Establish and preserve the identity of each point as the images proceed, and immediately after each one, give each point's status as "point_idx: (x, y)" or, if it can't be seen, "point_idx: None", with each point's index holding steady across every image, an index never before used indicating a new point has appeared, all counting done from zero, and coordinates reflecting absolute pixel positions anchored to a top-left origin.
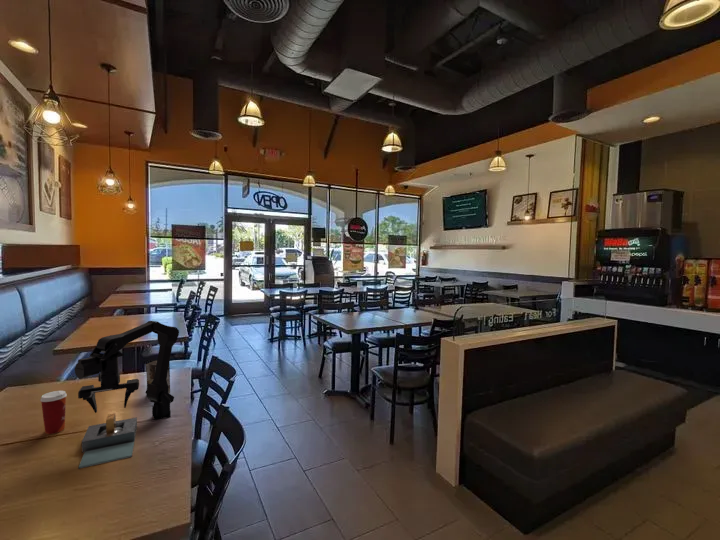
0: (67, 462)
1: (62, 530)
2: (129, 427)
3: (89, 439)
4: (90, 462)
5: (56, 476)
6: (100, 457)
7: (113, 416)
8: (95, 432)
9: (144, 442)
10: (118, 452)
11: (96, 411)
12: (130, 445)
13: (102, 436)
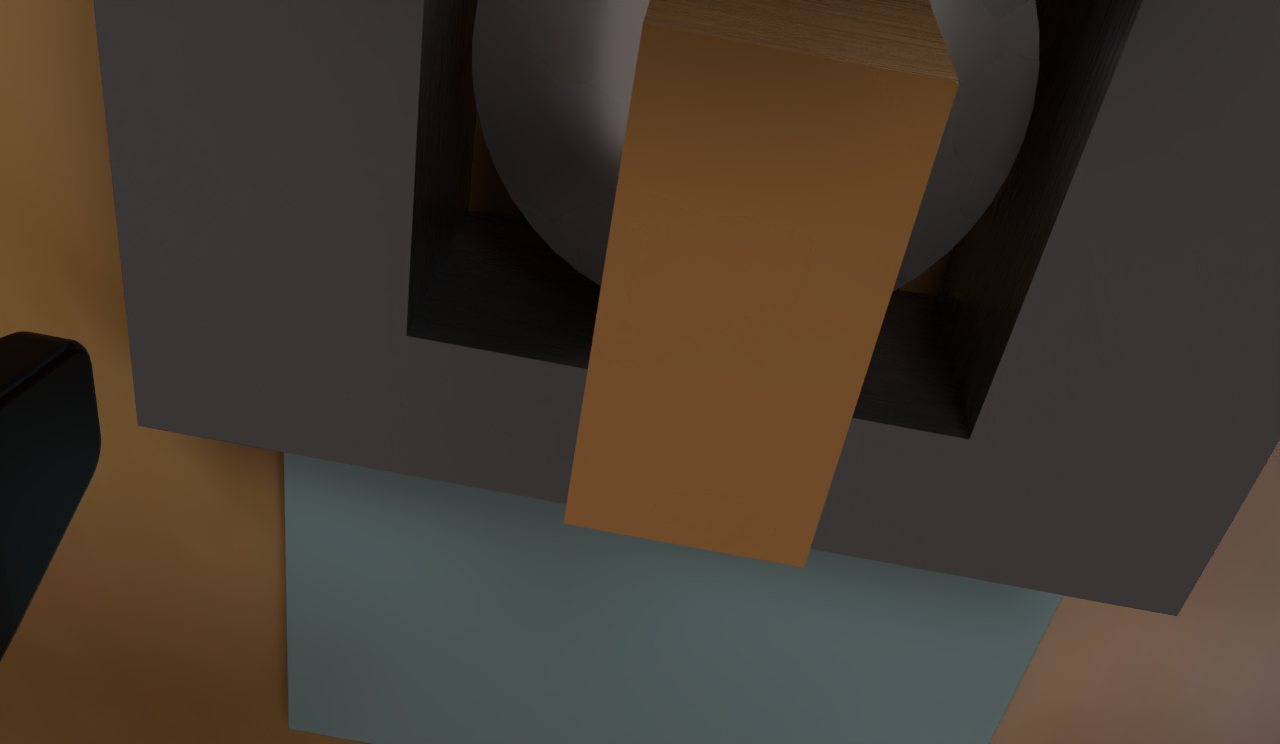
0: (94, 473)
1: None
2: (1177, 346)
3: (277, 414)
4: (422, 718)
5: (77, 717)
6: (543, 680)
7: (824, 405)
8: (352, 98)
9: (1246, 573)
10: (791, 695)
11: (70, 500)
12: (1003, 608)
13: (535, 435)
